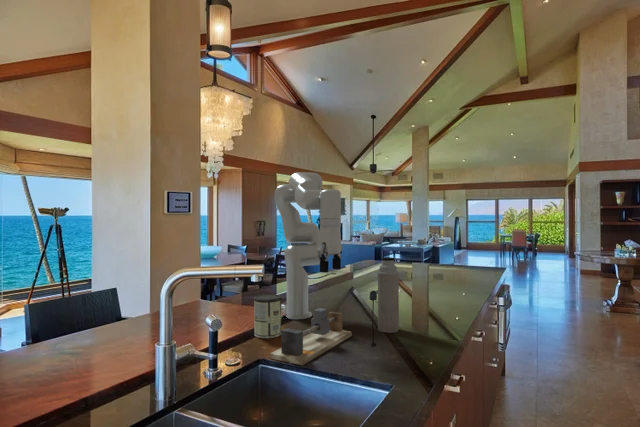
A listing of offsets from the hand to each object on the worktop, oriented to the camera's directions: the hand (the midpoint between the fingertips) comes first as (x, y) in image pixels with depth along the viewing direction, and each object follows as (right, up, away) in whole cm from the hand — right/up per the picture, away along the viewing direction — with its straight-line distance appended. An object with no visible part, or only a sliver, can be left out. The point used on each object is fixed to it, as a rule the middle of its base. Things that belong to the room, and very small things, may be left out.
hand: (330, 270), depth 145 cm
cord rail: (-6, -24, -9) cm, 27 cm away
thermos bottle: (+23, -25, +10) cm, 35 cm away
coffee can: (-23, -25, +4) cm, 34 cm away
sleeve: (-4, -21, -6) cm, 22 cm away
